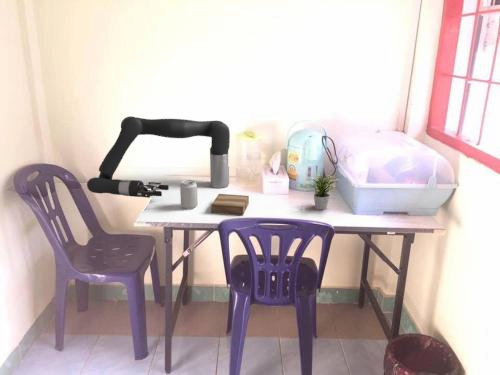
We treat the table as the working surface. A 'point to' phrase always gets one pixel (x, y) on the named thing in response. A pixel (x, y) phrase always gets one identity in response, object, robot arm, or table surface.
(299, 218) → the table surface
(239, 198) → the plinth
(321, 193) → the house plant
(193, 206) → the can
